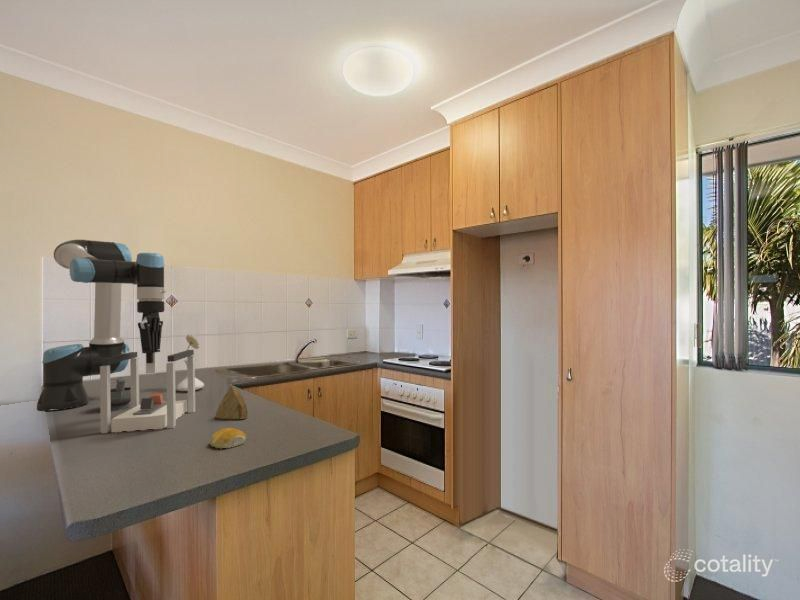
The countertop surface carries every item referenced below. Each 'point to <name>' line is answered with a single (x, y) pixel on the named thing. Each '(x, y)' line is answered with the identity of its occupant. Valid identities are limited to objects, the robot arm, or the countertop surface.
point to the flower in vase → (184, 384)
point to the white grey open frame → (136, 416)
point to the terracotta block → (157, 398)
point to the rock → (232, 406)
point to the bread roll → (227, 438)
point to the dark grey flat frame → (134, 354)
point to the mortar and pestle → (120, 395)
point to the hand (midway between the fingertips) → (151, 372)
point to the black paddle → (147, 403)
